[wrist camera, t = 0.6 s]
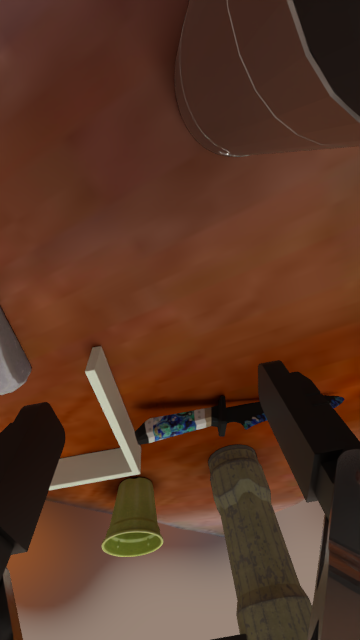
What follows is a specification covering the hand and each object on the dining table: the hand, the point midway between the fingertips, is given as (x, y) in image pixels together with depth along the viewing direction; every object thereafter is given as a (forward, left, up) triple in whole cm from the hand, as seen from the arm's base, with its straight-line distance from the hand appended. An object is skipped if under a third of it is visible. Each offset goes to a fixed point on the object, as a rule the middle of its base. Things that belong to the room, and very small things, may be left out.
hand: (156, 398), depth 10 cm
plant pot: (+41, -12, -18) cm, 46 cm away
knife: (+23, +8, -18) cm, 30 cm away
